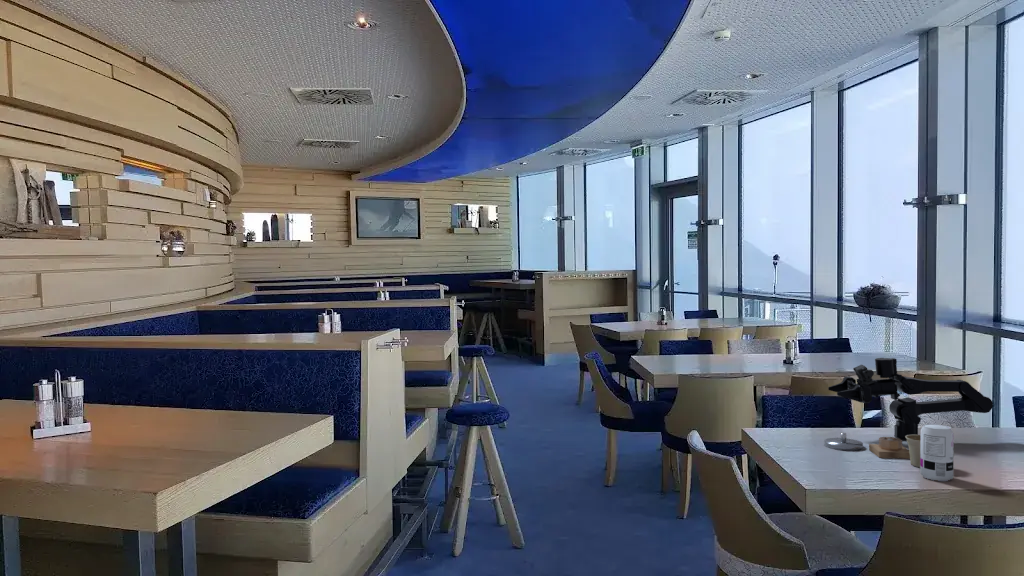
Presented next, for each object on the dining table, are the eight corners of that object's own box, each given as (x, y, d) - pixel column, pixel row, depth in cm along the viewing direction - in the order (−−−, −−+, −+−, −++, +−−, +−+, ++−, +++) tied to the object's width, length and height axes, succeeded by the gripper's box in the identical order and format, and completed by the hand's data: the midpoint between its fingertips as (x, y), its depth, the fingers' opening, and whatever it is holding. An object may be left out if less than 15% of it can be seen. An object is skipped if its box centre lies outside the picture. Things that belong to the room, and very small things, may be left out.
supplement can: (914, 474, 209) (914, 423, 209) (940, 473, 210) (940, 423, 209) (932, 482, 201) (932, 430, 201) (960, 481, 202) (960, 429, 201)
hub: (856, 442, 247) (856, 429, 247) (867, 451, 236) (867, 437, 236) (820, 441, 250) (820, 428, 249) (829, 450, 238) (829, 436, 238)
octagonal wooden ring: (897, 446, 234) (897, 437, 234) (904, 450, 228) (904, 441, 228) (877, 445, 235) (877, 436, 235) (883, 450, 229) (883, 441, 229)
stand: (901, 450, 236) (901, 436, 236) (912, 458, 226) (912, 443, 226) (869, 449, 237) (869, 435, 237) (879, 457, 228) (879, 442, 227)
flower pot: (938, 463, 220) (938, 436, 220) (942, 471, 212) (942, 442, 212) (904, 460, 224) (904, 433, 224) (906, 468, 216) (906, 439, 215)
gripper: (866, 361, 261) (822, 364, 263) (887, 370, 243) (840, 373, 245) (868, 390, 262) (824, 394, 264) (889, 401, 244) (842, 405, 245)
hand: (832, 391), depth 254 cm, fingers open, 9 cm apart
